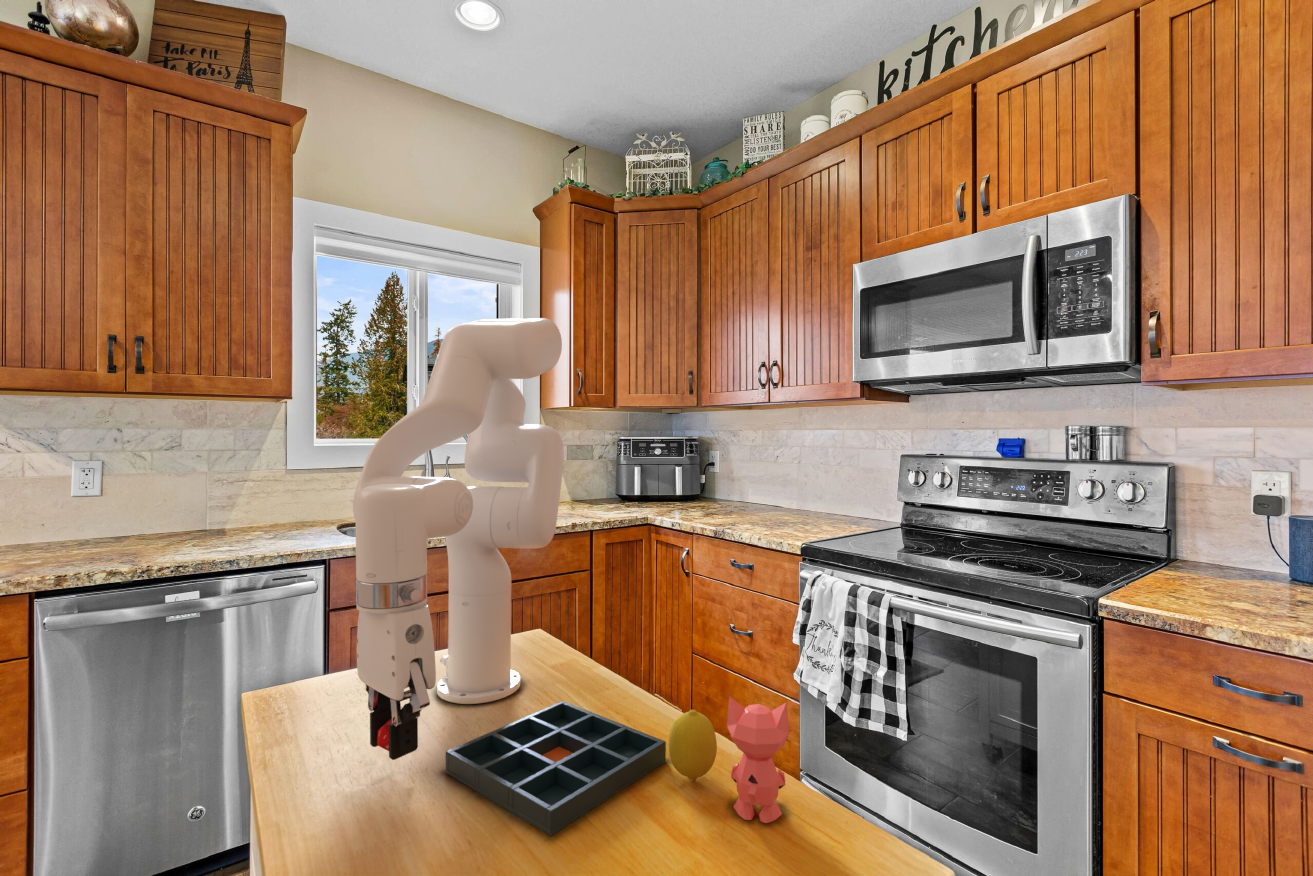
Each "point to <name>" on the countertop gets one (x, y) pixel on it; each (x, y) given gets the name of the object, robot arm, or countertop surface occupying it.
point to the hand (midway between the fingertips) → (393, 746)
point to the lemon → (692, 744)
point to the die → (384, 736)
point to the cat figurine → (757, 757)
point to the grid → (555, 764)
